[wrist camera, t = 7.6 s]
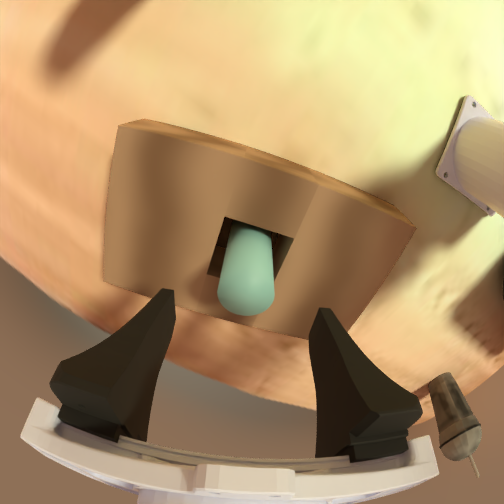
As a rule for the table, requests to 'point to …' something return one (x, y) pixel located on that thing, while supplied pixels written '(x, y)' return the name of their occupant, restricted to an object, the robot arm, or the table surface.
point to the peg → (247, 270)
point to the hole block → (248, 211)
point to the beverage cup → (454, 420)
